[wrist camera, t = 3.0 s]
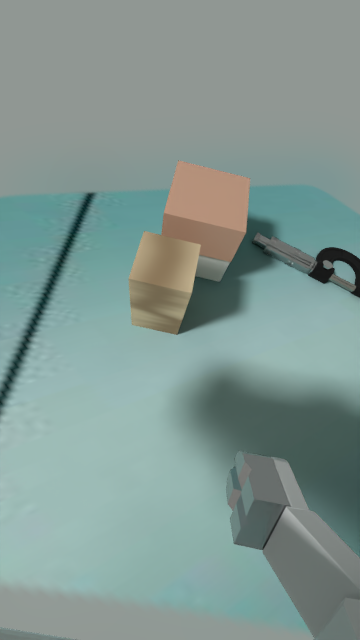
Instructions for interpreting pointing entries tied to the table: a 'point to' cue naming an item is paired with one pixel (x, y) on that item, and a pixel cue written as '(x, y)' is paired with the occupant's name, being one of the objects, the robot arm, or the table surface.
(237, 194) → the terracotta tower block
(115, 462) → the table surface
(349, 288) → the micrometer
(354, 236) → the table surface
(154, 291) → the oak block
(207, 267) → the off-white tower block
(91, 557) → the table surface
